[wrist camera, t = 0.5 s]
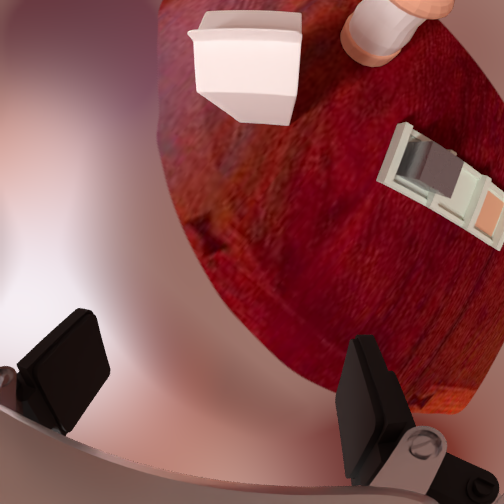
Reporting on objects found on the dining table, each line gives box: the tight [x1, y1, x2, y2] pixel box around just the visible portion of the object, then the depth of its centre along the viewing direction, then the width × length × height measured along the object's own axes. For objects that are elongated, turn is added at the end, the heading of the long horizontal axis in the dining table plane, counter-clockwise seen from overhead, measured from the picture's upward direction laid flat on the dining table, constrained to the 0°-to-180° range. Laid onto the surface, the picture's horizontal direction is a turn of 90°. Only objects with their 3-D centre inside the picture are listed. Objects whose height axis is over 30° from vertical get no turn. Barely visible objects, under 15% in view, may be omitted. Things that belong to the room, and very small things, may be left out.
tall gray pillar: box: [396, 141, 464, 199], centre depth 29 cm, size 4×4×7 cm
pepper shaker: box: [340, 0, 455, 67], centre depth 19 cm, size 7×7×19 cm
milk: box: [188, 10, 302, 126], centre depth 22 cm, size 6×6×22 cm
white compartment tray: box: [376, 122, 504, 251], centre depth 32 cm, size 8×22×3 cm, turn 70°
